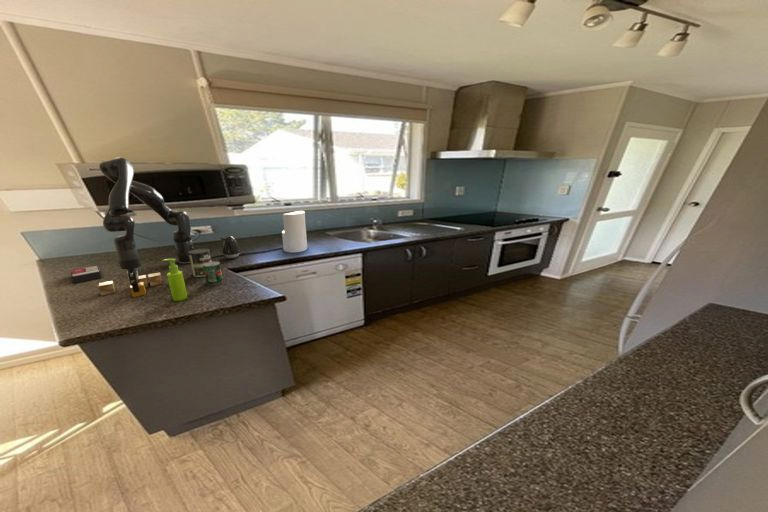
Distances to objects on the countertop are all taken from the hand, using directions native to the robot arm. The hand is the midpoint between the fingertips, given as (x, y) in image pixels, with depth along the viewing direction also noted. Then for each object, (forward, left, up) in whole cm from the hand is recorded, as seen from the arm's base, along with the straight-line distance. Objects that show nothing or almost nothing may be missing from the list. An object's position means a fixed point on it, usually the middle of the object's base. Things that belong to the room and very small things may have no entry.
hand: (137, 289), depth 140 cm
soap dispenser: (-15, +17, -3) cm, 23 cm away
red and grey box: (+23, -44, -3) cm, 50 cm away
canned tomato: (-32, +6, -3) cm, 33 cm away
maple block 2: (-7, -11, -3) cm, 14 cm away
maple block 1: (+12, -11, -3) cm, 16 cm away
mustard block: (0, 0, -3) cm, 3 cm away
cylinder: (-92, -28, -3) cm, 96 cm away
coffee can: (-29, -12, -3) cm, 32 cm away
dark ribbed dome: (-49, -34, -3) cm, 60 cm away
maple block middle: (-1, -11, -3) cm, 12 cm away
